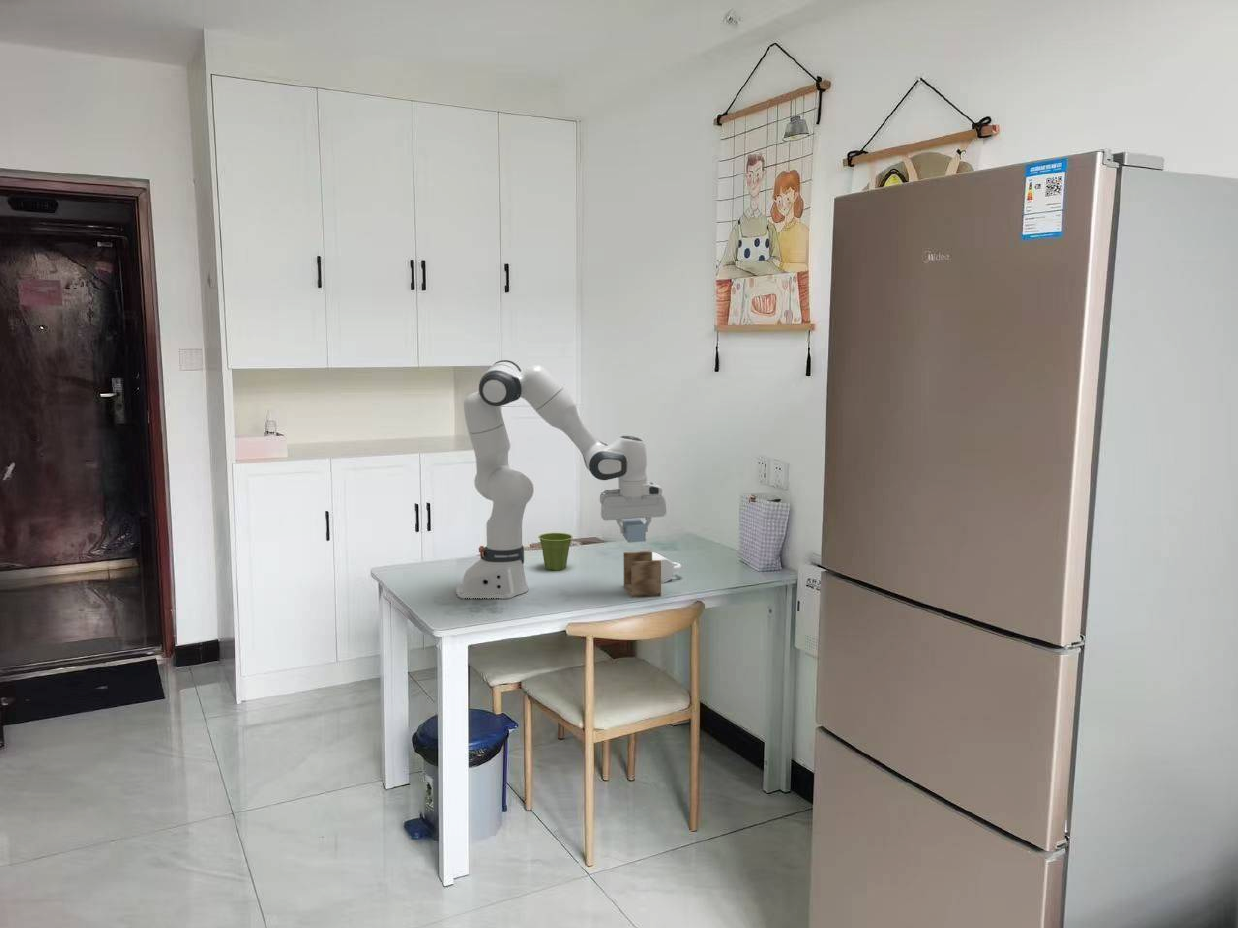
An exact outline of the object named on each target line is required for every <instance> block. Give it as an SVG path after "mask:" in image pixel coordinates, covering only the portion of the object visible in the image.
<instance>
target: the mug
mask: <svg viewBox="0 0 1238 928" xmlns="http://www.w3.org/2000/svg"><path fill="white" fill-rule="evenodd" d="M652 560H660V561H661V584H662V583H667V582H669V581H670V580H671V579H672V578H673V576H674V574H675V571H679V570H680V569H681V568H682V565H681V564H680V563H679V562H674V561H671V560H670V559H668V558H666V557H664V556H663V555H661V554H659V553H657V552H654V551H652Z"/></svg>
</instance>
